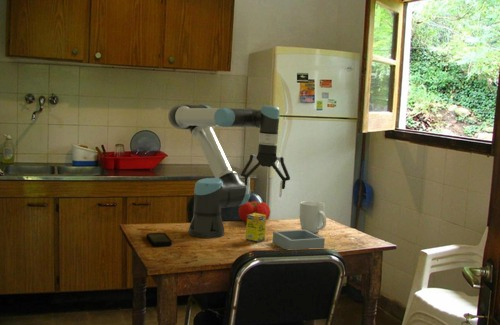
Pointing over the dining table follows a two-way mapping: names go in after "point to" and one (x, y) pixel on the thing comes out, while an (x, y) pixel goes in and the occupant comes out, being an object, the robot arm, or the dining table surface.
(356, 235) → the dining table surface
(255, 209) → the tomato
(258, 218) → the supplement box
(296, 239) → the bin
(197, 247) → the dining table surface
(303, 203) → the mug
